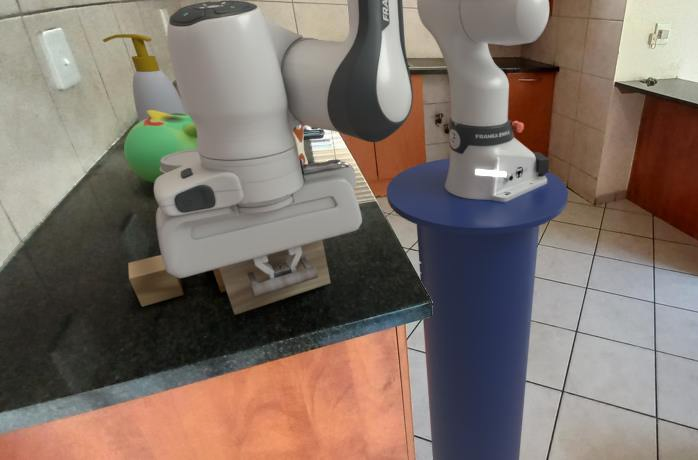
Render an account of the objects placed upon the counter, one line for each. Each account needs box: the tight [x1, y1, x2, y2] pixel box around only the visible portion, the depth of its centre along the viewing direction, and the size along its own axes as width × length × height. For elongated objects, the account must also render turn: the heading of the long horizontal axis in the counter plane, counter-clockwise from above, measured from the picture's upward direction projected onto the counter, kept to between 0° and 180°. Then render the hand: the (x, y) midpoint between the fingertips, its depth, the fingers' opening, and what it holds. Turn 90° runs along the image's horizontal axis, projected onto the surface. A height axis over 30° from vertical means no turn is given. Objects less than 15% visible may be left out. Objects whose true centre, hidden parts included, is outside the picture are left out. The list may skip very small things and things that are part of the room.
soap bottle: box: [102, 33, 188, 123], centre depth 100 cm, size 11×12×26 cm
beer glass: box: [293, 125, 310, 165], centre depth 96 cm, size 7×7×15 cm
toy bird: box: [123, 110, 197, 184], centre depth 86 cm, size 18×17×15 cm
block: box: [127, 254, 185, 308], centre depth 56 cm, size 4×4×4 cm
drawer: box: [219, 240, 332, 315], centre depth 57 cm, size 18×12×8 cm, turn 39°
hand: (283, 279), depth 52 cm, fingers closed
